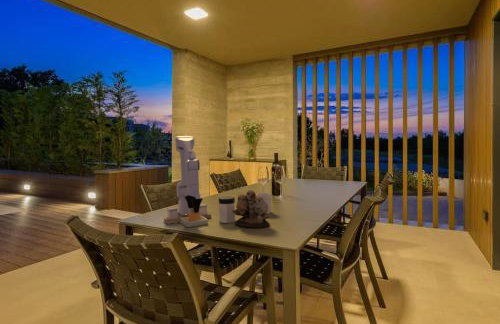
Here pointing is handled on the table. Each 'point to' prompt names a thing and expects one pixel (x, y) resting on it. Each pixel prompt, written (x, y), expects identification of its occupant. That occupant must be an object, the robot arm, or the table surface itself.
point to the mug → (266, 200)
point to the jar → (226, 209)
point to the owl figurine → (251, 211)
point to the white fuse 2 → (203, 209)
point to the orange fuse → (193, 215)
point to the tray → (199, 222)
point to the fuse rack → (182, 217)
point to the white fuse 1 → (172, 213)
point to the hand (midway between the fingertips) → (193, 211)
